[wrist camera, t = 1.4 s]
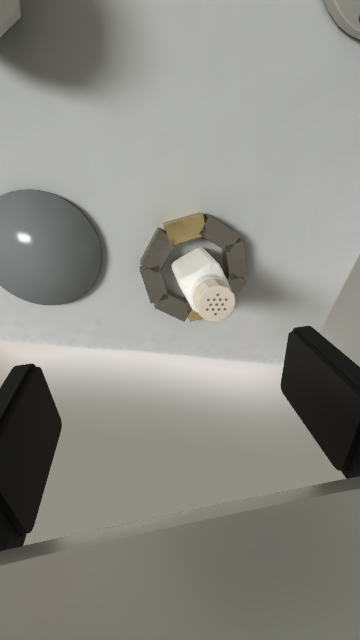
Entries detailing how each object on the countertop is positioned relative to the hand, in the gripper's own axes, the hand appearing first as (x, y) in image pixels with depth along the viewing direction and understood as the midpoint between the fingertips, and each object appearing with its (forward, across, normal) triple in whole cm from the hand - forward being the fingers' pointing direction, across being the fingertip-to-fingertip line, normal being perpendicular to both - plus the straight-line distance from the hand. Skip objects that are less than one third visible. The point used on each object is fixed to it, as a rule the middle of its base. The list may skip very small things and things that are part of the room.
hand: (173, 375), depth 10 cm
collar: (+20, -5, +2) cm, 21 cm away
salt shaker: (+20, -5, +2) cm, 21 cm away
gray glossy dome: (+20, +10, -1) cm, 23 cm away
